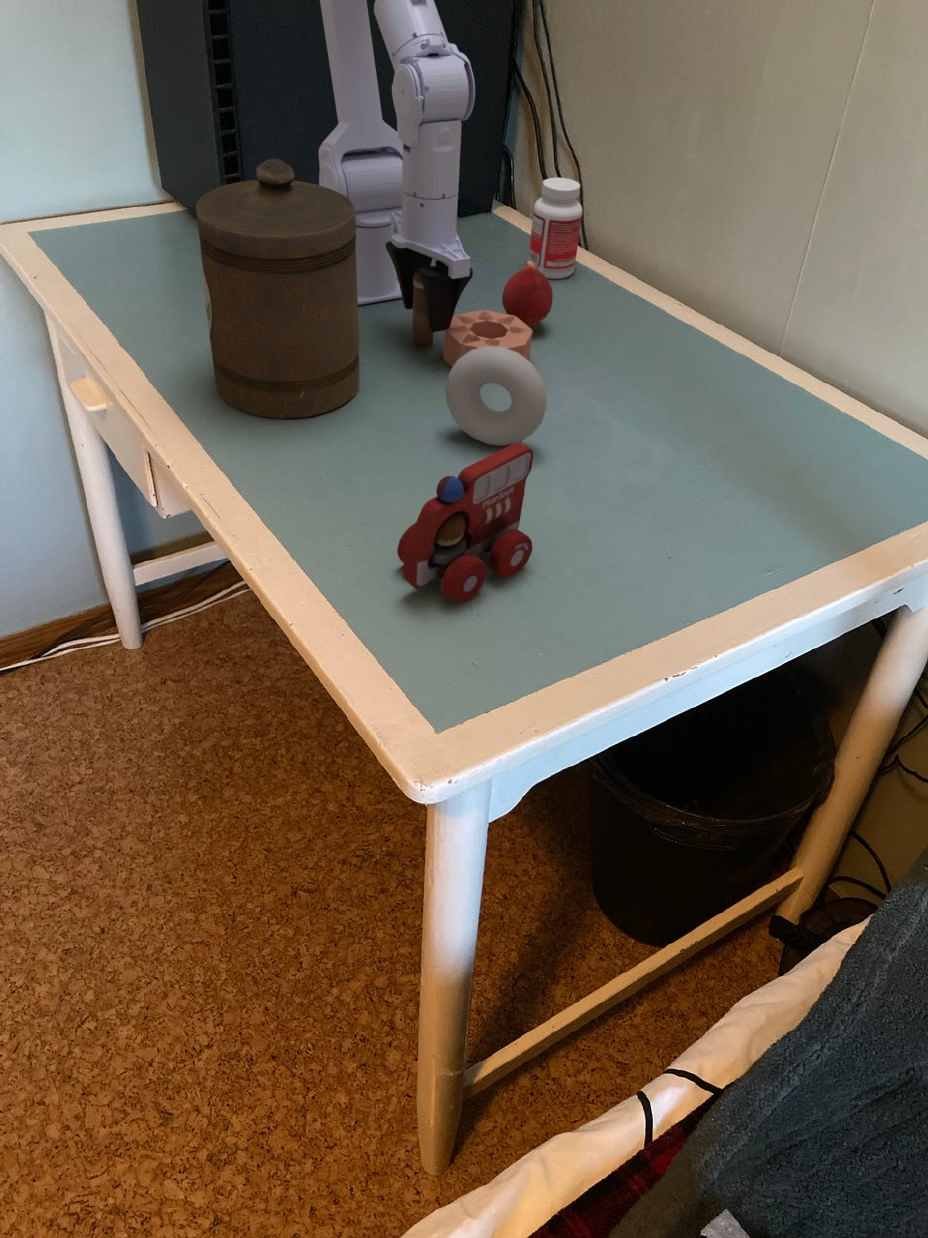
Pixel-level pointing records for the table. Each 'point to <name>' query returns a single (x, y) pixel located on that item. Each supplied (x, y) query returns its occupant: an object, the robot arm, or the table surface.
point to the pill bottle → (556, 228)
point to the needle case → (420, 316)
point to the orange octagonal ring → (485, 334)
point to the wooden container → (281, 293)
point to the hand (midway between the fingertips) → (426, 317)
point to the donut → (507, 373)
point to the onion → (528, 295)
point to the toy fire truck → (471, 526)
